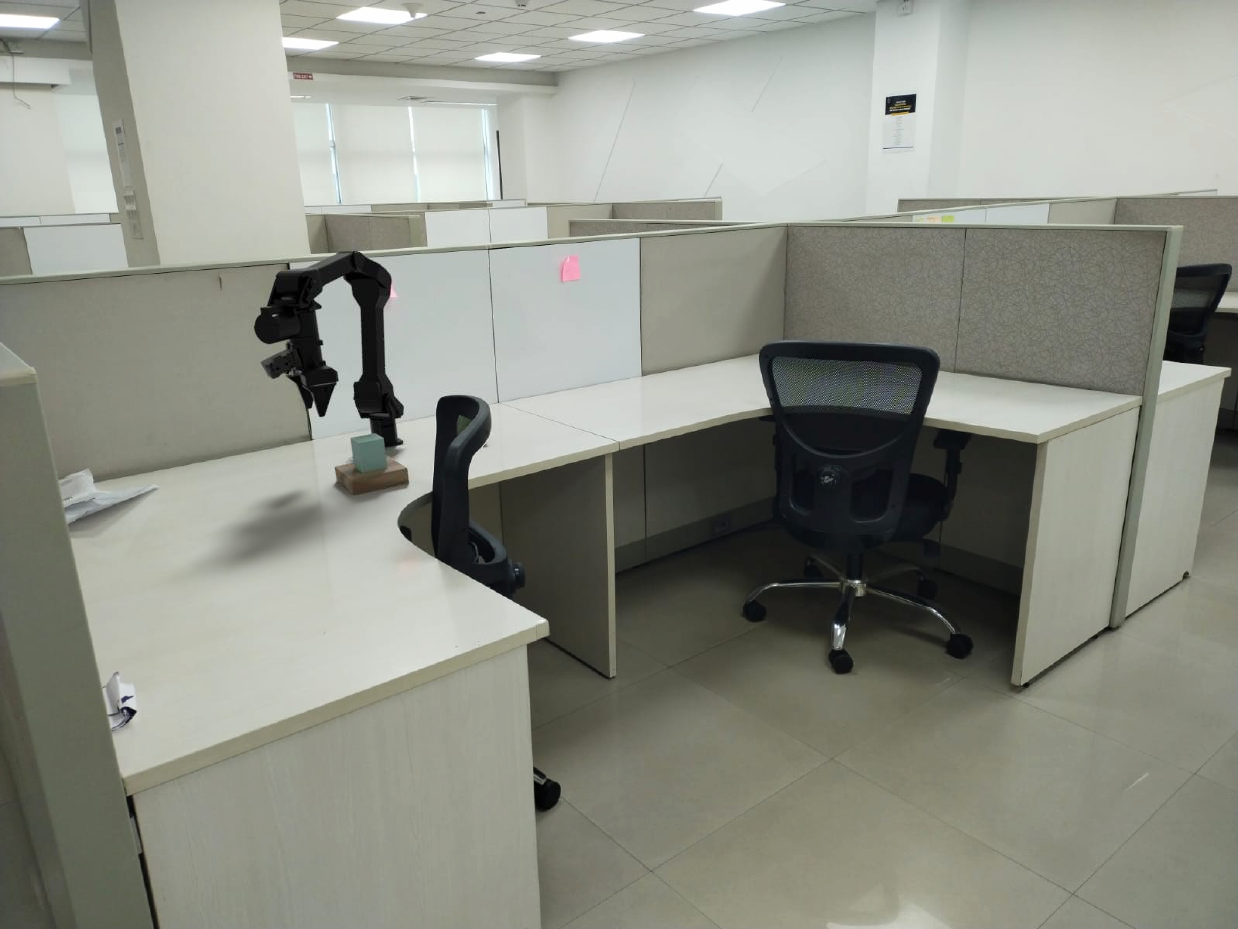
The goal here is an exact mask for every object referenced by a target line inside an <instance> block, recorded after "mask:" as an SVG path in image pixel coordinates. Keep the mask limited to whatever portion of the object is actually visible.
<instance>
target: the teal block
mask: <svg viewBox="0 0 1238 929" xmlns="http://www.w3.org/2000/svg"><path fill="white" fill-rule="evenodd" d="M350 447H351V451H352V453H351V454H352V460H353V461H352V462H353V463H354V467H355V468H356V469H358V470H359V471H361V472H362V473H364V472H369V471H374V470H378V469H383V468H387V461H386V456H387V454H386V453H387V452H386V446H385V445H384V438H382V437H381V436H379V435H377V434H375V433H374V434H371V433H370V434H363V435H358V436H353V437H350Z"/></svg>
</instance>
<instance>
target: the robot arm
mask: <svg viewBox="0 0 1238 929" xmlns="http://www.w3.org/2000/svg"><path fill="white" fill-rule="evenodd" d="M391 275H392V274H391V273H390V272H389V271H388V270H387V269H386V267H384V266H383V265H382V264H380V263H379V262H378V261H374V260H373V259H371V258H368V257H367V256H366V255H364V254H363V253H362V252H360V251H358V250H340V251H337V252H336V253H335V254H333V255H331V256H329V257H326V258H325V259H323V260H320V261H318V262H316V263H314V264H311V265H308V266H307V267H301V268H291V269H285V270H284V269H283V270H280V271H278V272H277V273H276V275H275V279H274V281H273V285H272V287H271V290H270V294H269V296H268V297H269V298H268V301H267V304H266V306H262V307H260V308H259V309H260V314H259V315H258V316H257V317H256V319H255V320H254V325H253V330H254V334H255V336H256V338H257V339H258V340H259V341H260V342H261V343H262V344H263V343H264V344H265V345H274V344H276V343H280V342H285V341H286V342H285V349H284V350H281V351H279V352H277V353H275V354H273V355H271V356H269V357H267V358H265V359H263V360H262V361H260V364H261V366H262V368H263V370H264V371H265V373H266V375H267V376H268V378H270V379H272V380H274V379H277V378H279V377H281V375H283V374H284V375H285V377H286V378H287V379H289V380H290V381H292V382H293V383H294V384H295V386H296V387H297V390H298V393H299V395H300V397H301V400H302V403H303V404H304V407H305V409H306V410H311V409H312V408H313V404H314V407H315V410H316V411H317V412H316V413H317V414H318V417H319V418H324V417H325V416H326V414H327V411H328V407H329V405H330V401H331V398H332V395H333V393H334V390H335V387H336V386H337V384H338V382H340V379H339V374H338V371H337V370H336V369H335V368H333V367H331V366H329V365H327V362H326V361H327V360H325V359H324V358H323V353H322V346H324V340H323V339H321V338H320V332H319V324H318V318H317V317H318V316H317V311H318V310H321V309H322V308H323V306H322V305H321V304H320V303H319V302H318V301H317V300H315V299H316V298H317V297H318V296H320V294H321V293H322V292H323V290H324V287H325V286H326V285H328V284H330V283H332V282H335V281H336V280H338V279H340V278H343V280H344V281H345V282H346V283H348V284H349V286H350V287H351V294H352V297H353V298H354V300H355V302H356V304H357V305H358V307H359V310H360V312H359V313H360V335H361V336H360V337H361V338H360V339H361V343H360V344H361V367H362V370H361V373H362V374H361V375H360V377H359V378H358V380H357V381H354V382H353V385H352V388H353V396H352V397H353V398H352V400H353V401H354V405H355V407H356V409H357V410H356V411H357V412H358V415H359V417H360V419H362V420H364V419H366V420H367V419H368V420H369V427H370V434H374V433H375V434H377V435H379V436H381V437H382V438H384V445H385V447H389V446H394V445H399V444H404V440H403V439H401V438H399V437H398V428H397V421H396V420H397V419H401V418H402V417H403V416H404V412H405V406H404V404H403V403H402V402H401V401H400V400H399V399H398V398H397V397H396V396H395V391H394V385H393V383H392V382H391V380H390V379H389V377H388V375H387V373H386V349H385V348H386V347H385V343H386V342H385V319H384V318H385V316H384V315H385V314H384V313H385V311H384V309H385V306H386V305H387V303H388V301H389V300H390V298H391V291H392V283H393V282H392V281H393V279H392V276H391Z"/></svg>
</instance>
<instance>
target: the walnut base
mask: <svg viewBox="0 0 1238 929" xmlns="http://www.w3.org/2000/svg"><path fill="white" fill-rule="evenodd" d="M386 461H387V468H383V469H378V470H374V471H369V472H364V473H362V472H361V471H359V470H358V469H356V468H355V467H354V462H352V463H351V462H350V463H347V464H341V465H336V466H334V472H335V479H336V480H335V481H337V482H338V484H340V485H342V487H344V488H345V489H346V490H347V491H349V492H350V493H351V494H353V495H355V496H356V495H359V494H364V493H369V492H373V491H376V490H381V489H386V488H391V487H395V486H400V485H406V484H408V483H410V477H409V470H408V469H409V468H408V467H406V466H405V465H403V464H402V463H400V462H399V461H396V460H395V459H394V458H392V457H390V456H389V455H386Z"/></svg>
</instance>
